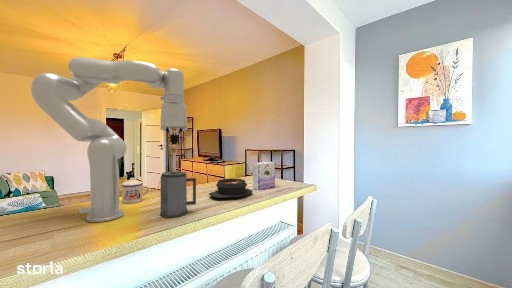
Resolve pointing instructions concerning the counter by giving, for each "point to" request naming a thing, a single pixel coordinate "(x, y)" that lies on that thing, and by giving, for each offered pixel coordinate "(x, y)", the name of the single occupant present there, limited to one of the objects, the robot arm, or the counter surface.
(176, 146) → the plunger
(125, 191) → the teacup with lid
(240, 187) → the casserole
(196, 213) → the counter surface
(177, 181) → the coffee press
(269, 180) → the candy box
